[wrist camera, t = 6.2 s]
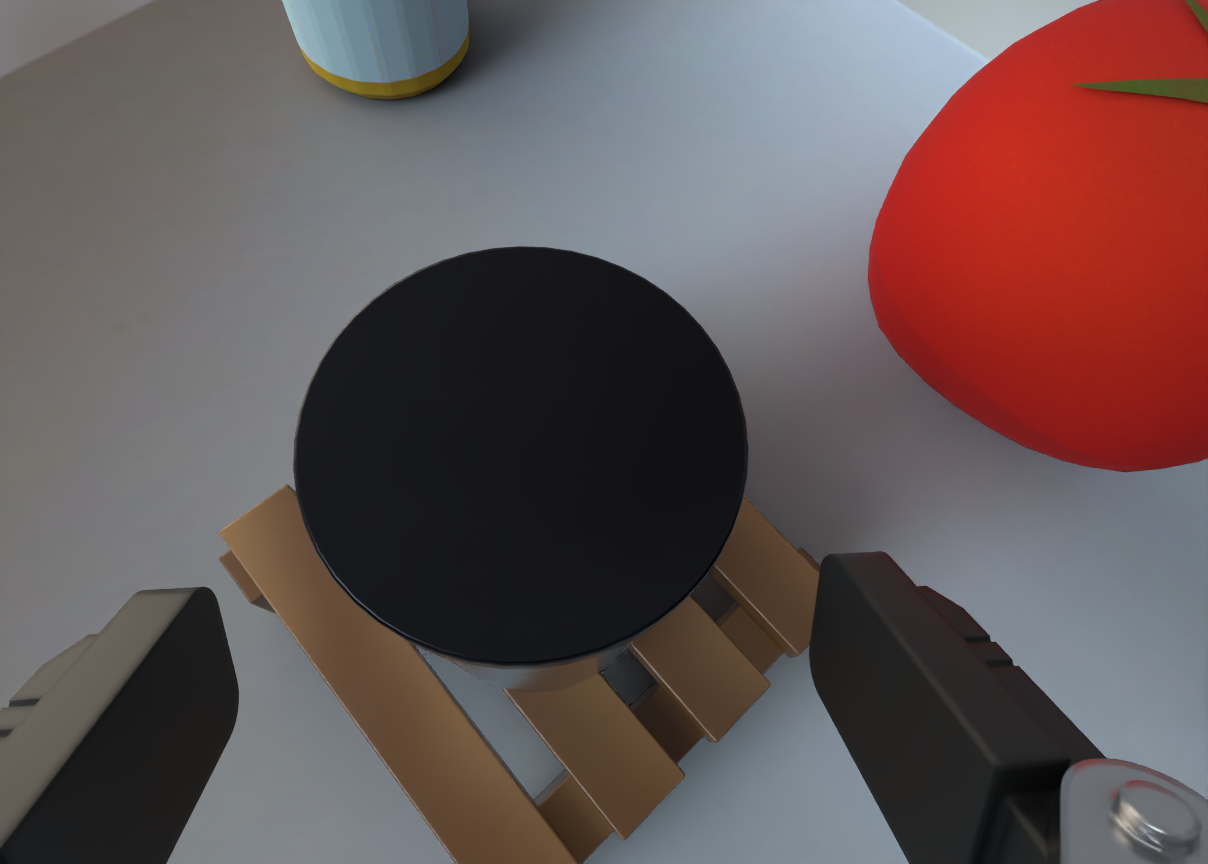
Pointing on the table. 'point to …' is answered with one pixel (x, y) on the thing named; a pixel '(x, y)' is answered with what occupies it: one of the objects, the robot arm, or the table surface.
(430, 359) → the metal canister
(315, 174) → the table surface
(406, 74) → the bottle
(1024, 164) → the tomato
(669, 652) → the wooden pallet
